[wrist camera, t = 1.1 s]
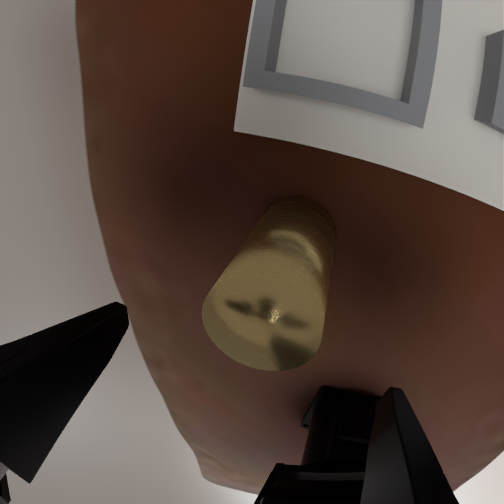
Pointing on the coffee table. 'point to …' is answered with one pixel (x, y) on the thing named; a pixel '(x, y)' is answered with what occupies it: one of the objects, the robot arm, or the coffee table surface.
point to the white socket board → (383, 85)
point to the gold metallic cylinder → (275, 289)
